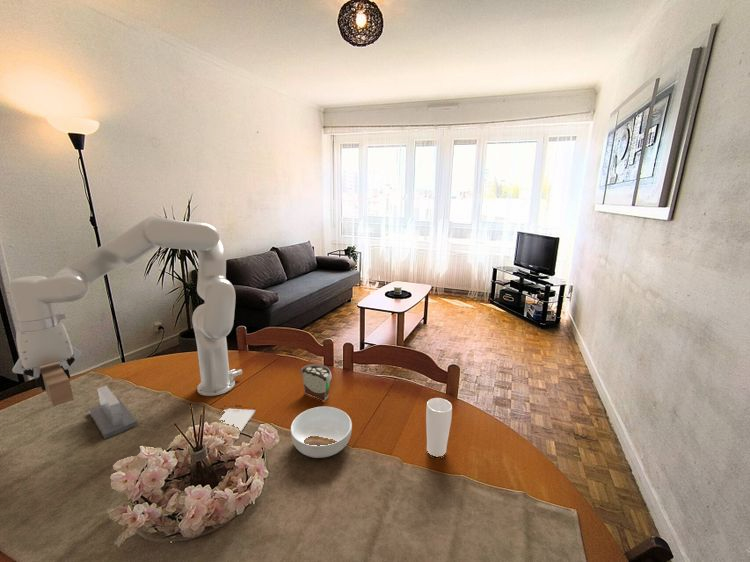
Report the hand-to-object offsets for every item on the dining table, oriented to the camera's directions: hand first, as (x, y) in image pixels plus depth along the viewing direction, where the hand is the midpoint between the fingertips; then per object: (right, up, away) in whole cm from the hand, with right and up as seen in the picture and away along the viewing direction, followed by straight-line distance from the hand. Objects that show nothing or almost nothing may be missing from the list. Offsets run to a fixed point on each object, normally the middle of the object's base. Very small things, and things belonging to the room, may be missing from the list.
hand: (54, 384), depth 95 cm
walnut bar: (0, -1, 0) cm, 1 cm away
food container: (+69, -12, +28) cm, 76 cm away
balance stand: (+7, -15, +12) cm, 20 cm away
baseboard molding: (+43, -19, +2) cm, 47 cm away
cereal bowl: (+74, -18, +3) cm, 76 cm away
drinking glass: (+106, -19, +1) cm, 108 cm away
